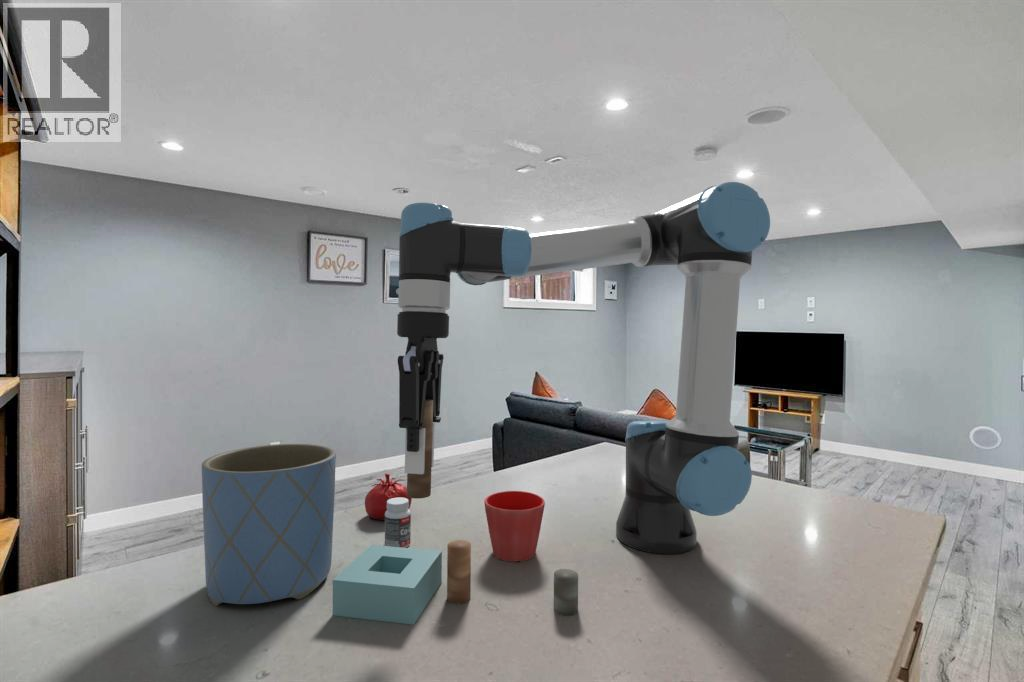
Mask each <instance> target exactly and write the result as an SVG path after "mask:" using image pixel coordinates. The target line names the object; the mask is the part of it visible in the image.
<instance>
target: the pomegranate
mask: <svg viewBox="0 0 1024 682" xmlns="http://www.w3.org/2000/svg"><path fill="white" fill-rule="evenodd" d="M390 475H391V474H390V473H389V472H386V473H384V477H385V480H384V479H382V478H376V480H377V481H381V482H379V483H374V484H373V485H371V487H373V488H371V489H370V490H369V491H368V493H366V496H365V498H364V509H365V512H366V514H367V516H368V517H370V518H372V519H375V520H377V521H378V520H380V521H385V512H386V511H387V501H388V500H389V499H392V498H397V497H402V498H407V499H408V500H409V508H408V509H409V510H410V508H411V504H412V500H413V498H410V497H408V496H407V486H406V485H404V484H401V483H400V482H399V481H400V479H397V480H396V478H395V477H392V478H391V479H390ZM393 480H395V481H393ZM402 481H403V482H404V481H406V482H407V479H406V480H405V479H402Z"/></svg>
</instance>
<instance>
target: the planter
mask: <svg viewBox="0 0 1024 682" xmlns="http://www.w3.org/2000/svg"><path fill="white" fill-rule="evenodd" d="M336 459H337V452H336V450H335V449H333V448H331V447H328V446H324V445H319V444H312V443H311V444H309V443H280V444H279V443H278V444H266V445H257V446H250V447H244V448H243V447H242V448H238V449H233V450H229V451H225V452H221V453H218V454H214V455H213V456H210V457H208V458H206V459H205V460H203V461H202V462H201V463H202V464H201V487H202V488H201V491H202V492H201V494H202V520H203V522H202V523H203V542H204V543H203V544H204V547H203V548H204V569H205V571H204V573H205V587H206V592H207V596H208V599H209V600H210V602H211V604H212V605H214V606H215V607H218V606H220V605H221V604H222V603H225V604H234V605H255V604H263V603H270V602H273V601H279V600H284V599H289V598H294V599H295V600H297V601H299V600H302V599H304V598H306V597H307V596H308V595H310V594H311V593H312V592H313V591H314V590H315V589H316V588H318V587H319V586H320V585H321V584H322V582H323V581H324V580H325V579H326V578H327V576H328V575H329V573H330V571H331V567H332V561H333V560H332V559H333V558H332V557H333V538H334V537H333V533H334V511H335V492H336V489H335V488H336V465H337V463H336Z"/></svg>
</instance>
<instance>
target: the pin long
mask: <svg viewBox="0 0 1024 682" xmlns="http://www.w3.org/2000/svg"><path fill="white" fill-rule="evenodd" d="M433 423H434V422H433V400H430V399H425V407H424V419H423V427H422V428H426V429H425V465H424V474H411V473H406V487H407V496H408V497H410V498H412V499H416V500H417V499H426V498H429V497H430V496H431V495H432V493H431V492H432V467H431V464H432V428H433Z"/></svg>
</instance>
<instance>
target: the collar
mask: <svg viewBox="0 0 1024 682" xmlns="http://www.w3.org/2000/svg"><path fill="white" fill-rule="evenodd" d="M442 564H443V551H442V550H436V549H435V550H433V549H424V548H423V549H421V548H412V547H406V548H402V547H390V546H385V545H378V544H377V545H376V544H371V545H370V546H369V547H367V548H366V549H365V550H364V551H363V552H361V553H360V555H358V556H357V558H355V559H354V560H353V561H351V562H350V563H349V565H347V566H346V567H345V568H344V569H343V570H342V571H341V572H340V573H338V574H337V575H336V576H335V577H334V578H333V579H332V616H334V617H344V618H354V619H360V620H369V621H379V622H386V623H396V624H403V625H404V624H405V625H413V626H415V624H416V622H417V621H418V619H419V618H420V616H421V615H422V613H423V612H424V610H425V608H426V607H427V605H428V604H429V603H430V601H431V600H432V598H433V596H434V595H435V593H436V592H437V590H438V588H439V587H440V586H441V583H442V582H443V581H442V578H443V573H442V571H443V570H442V569H443V565H442Z"/></svg>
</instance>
